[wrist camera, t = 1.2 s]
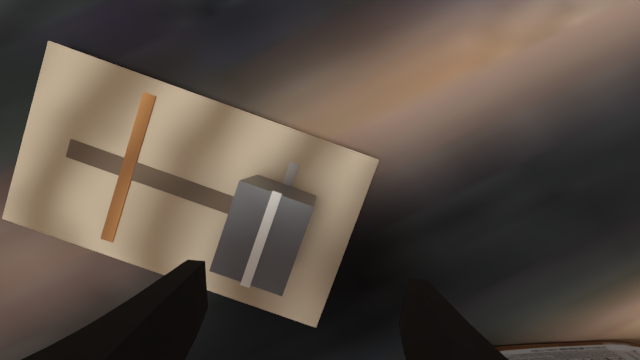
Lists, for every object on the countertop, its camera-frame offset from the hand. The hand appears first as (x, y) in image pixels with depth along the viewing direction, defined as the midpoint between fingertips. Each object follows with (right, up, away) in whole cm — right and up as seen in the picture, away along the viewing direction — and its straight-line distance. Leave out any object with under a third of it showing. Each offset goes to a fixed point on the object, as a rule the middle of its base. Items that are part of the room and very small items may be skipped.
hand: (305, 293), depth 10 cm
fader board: (-8, +3, +10) cm, 14 cm away
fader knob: (-2, +1, +9) cm, 9 cm away
